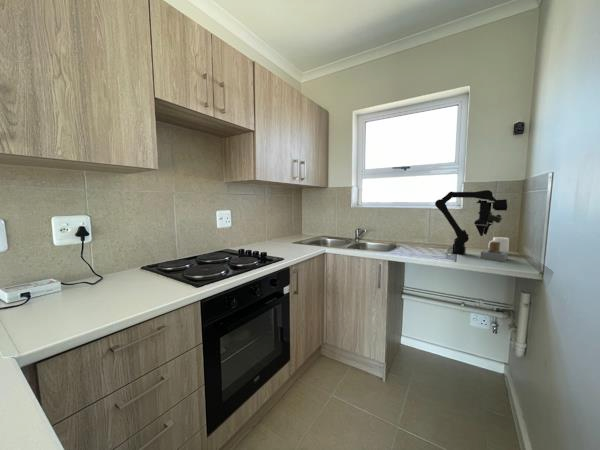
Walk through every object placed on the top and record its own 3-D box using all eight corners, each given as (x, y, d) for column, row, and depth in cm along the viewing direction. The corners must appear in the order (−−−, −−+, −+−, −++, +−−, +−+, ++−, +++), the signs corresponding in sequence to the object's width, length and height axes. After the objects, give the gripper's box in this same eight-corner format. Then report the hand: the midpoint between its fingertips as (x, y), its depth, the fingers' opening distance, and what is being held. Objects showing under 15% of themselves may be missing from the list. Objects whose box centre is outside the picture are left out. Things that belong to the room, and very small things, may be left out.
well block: (480, 258, 148) (480, 251, 147) (485, 255, 155) (485, 249, 155) (503, 261, 139) (504, 254, 139) (507, 258, 147) (508, 252, 146)
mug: (492, 254, 157) (493, 239, 156) (483, 252, 165) (484, 237, 164) (511, 254, 157) (512, 238, 156) (501, 252, 165) (502, 237, 164)
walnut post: (489, 258, 147) (490, 242, 146) (490, 257, 150) (491, 241, 149) (497, 259, 144) (498, 243, 143) (498, 258, 147) (500, 242, 146)
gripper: (498, 211, 141) (496, 238, 142) (504, 210, 153) (502, 235, 154) (474, 210, 149) (473, 236, 151) (483, 209, 161) (481, 233, 163)
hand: (483, 235), depth 154 cm, fingers open, 9 cm apart
